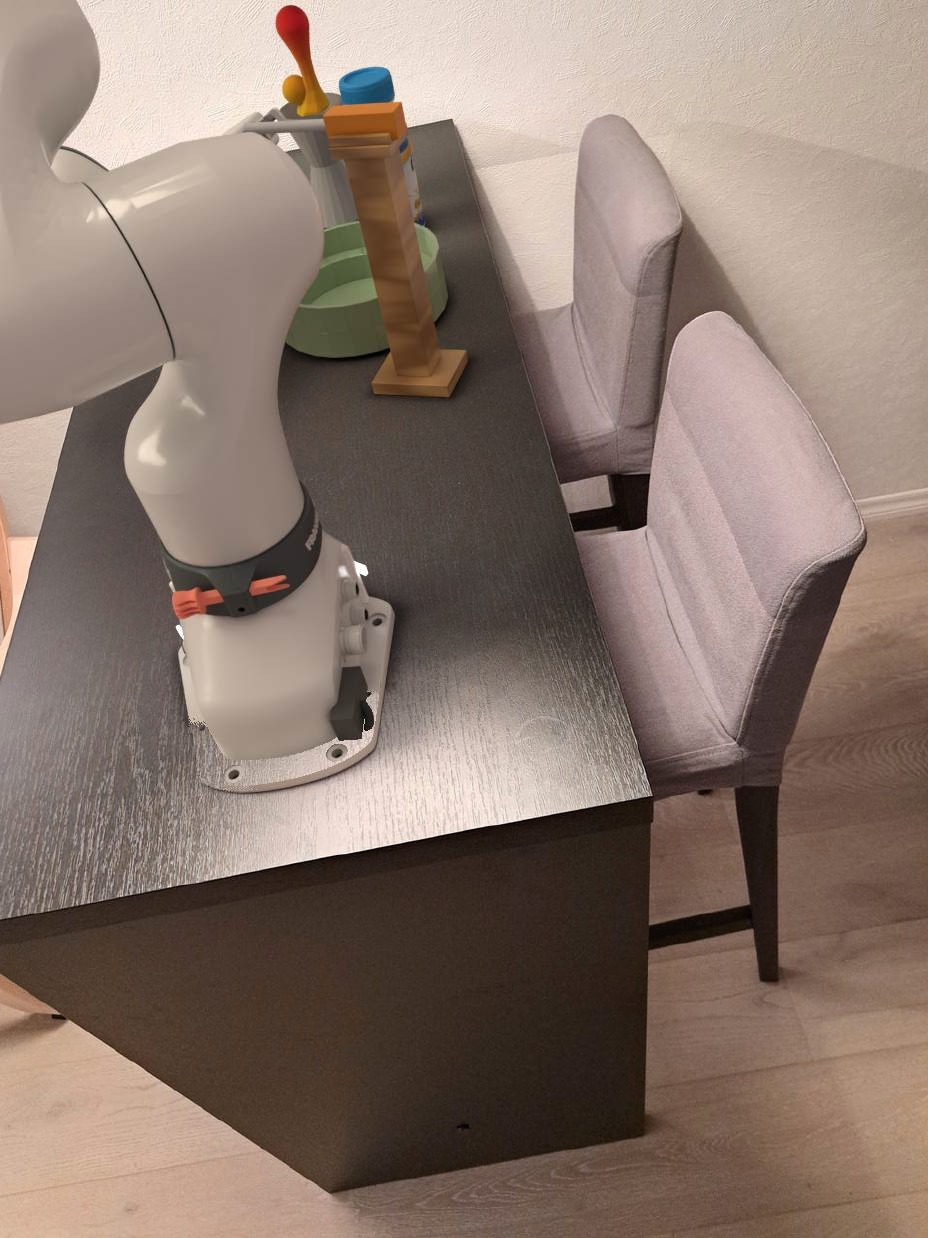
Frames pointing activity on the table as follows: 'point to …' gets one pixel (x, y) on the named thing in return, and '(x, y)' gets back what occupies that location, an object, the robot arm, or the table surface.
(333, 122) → the screwdriver
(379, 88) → the beverage bottle
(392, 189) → the shelf stand
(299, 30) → the lava lamp
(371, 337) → the green pet bowl
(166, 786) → the table surface
